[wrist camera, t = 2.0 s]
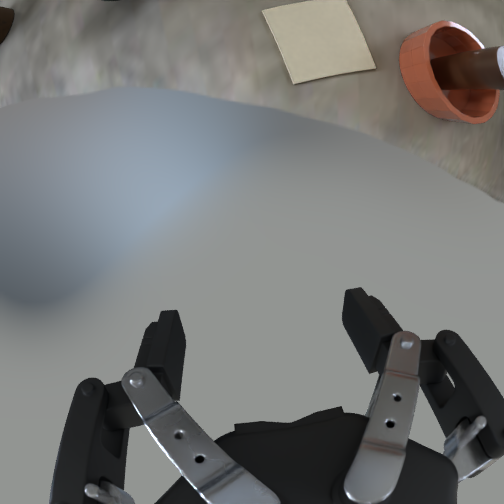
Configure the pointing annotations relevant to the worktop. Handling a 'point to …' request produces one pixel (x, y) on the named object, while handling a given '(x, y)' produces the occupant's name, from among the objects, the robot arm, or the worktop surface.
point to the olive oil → (5, 21)
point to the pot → (423, 80)
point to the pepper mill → (470, 69)
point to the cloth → (318, 39)
